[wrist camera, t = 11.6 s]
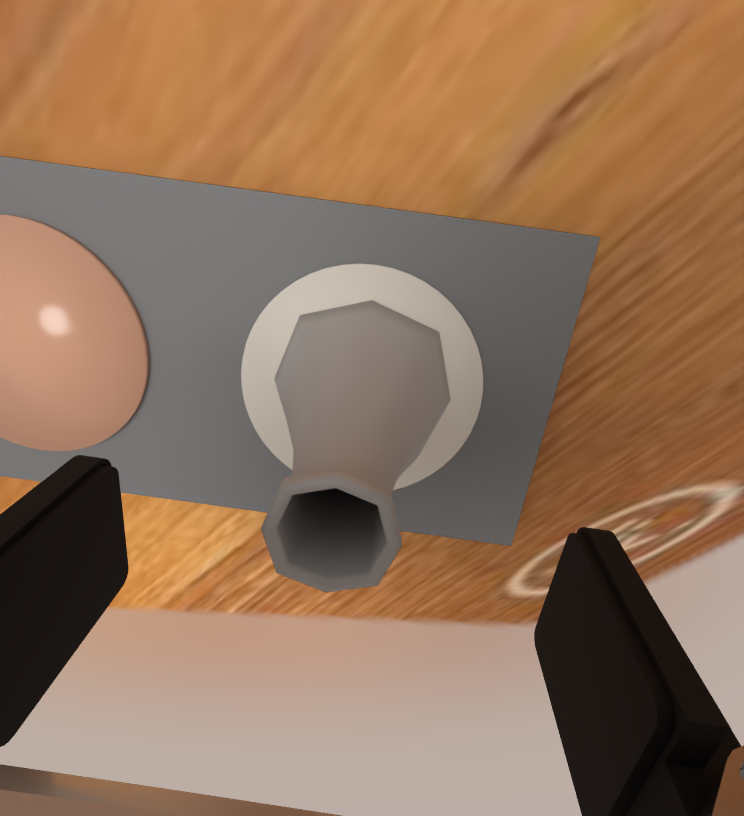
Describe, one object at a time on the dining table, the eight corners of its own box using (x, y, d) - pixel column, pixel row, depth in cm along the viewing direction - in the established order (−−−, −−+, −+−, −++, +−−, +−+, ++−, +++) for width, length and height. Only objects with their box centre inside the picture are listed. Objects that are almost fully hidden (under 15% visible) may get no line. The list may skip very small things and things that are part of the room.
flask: (465, 310, 19) (528, 412, 10) (436, 473, 22) (462, 672, 12) (278, 287, 19) (163, 366, 10) (273, 453, 22) (178, 636, 13)
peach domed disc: (143, 232, 19) (138, 233, 18) (155, 460, 23) (151, 465, 22) (-116, 197, 19) (-126, 197, 18) (-60, 431, 23) (-67, 435, 22)
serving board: (590, 235, 19) (600, 237, 18) (507, 532, 24) (511, 546, 23) (-181, 131, 19) (-210, 128, 18) (-93, 450, 24) (-113, 460, 23)
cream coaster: (506, 281, 19) (508, 283, 18) (456, 502, 23) (457, 506, 22) (246, 246, 19) (243, 247, 18) (241, 472, 23) (238, 477, 22)
